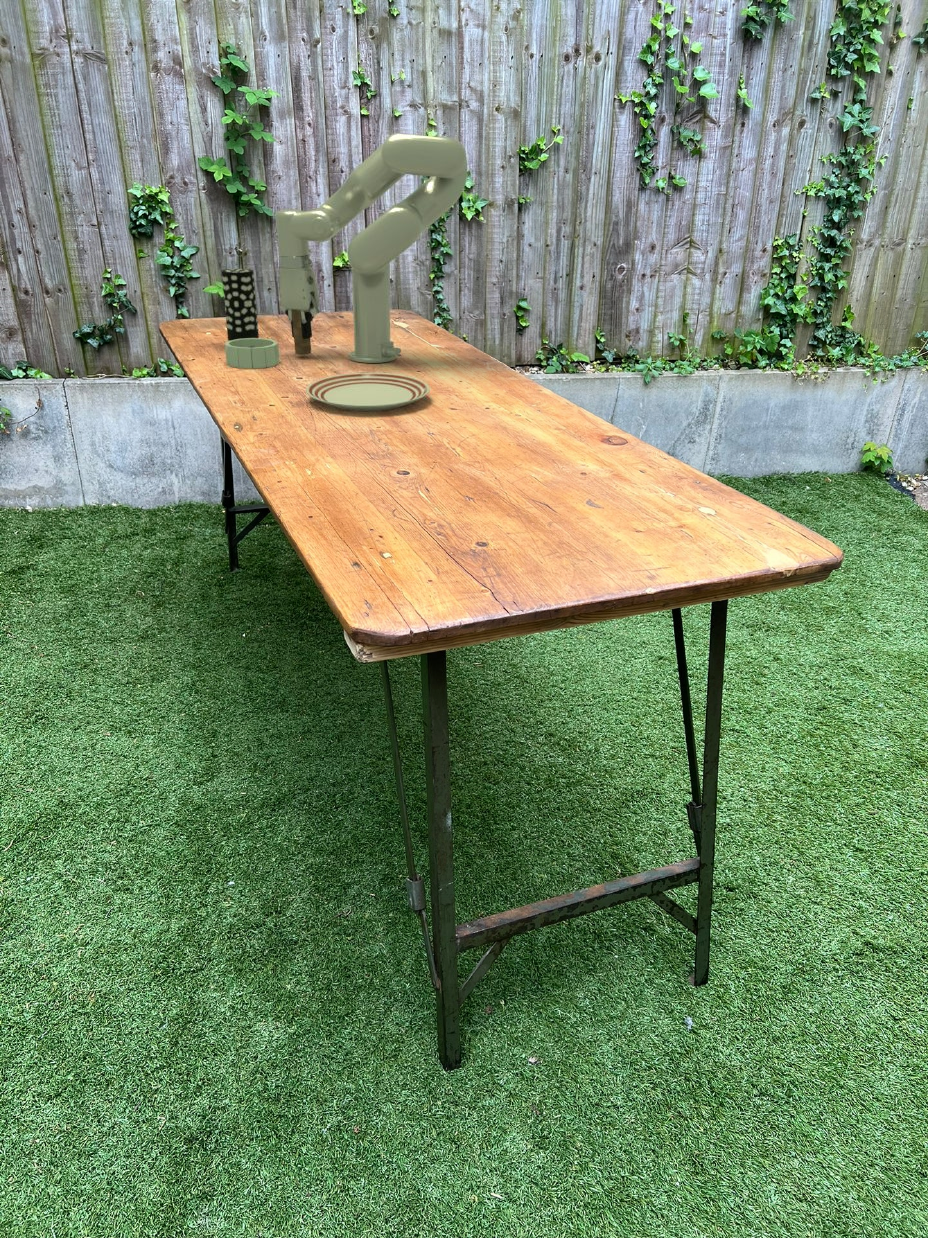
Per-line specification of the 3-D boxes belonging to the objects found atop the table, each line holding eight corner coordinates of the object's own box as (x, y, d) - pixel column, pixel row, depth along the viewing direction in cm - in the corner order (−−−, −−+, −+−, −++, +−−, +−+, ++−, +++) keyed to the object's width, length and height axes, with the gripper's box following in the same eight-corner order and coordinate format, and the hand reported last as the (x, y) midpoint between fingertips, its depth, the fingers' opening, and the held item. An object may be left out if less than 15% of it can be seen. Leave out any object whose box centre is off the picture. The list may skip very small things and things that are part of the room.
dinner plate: (412, 421, 190) (412, 406, 188) (288, 412, 194) (287, 396, 193) (441, 391, 214) (442, 376, 212) (330, 382, 218) (330, 368, 217)
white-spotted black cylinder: (255, 351, 247) (249, 273, 238) (225, 350, 247) (217, 272, 238) (262, 344, 255) (256, 269, 245) (232, 344, 255) (225, 268, 245)
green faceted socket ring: (289, 362, 236) (288, 342, 234) (252, 370, 226) (250, 350, 224) (253, 355, 242) (252, 336, 240) (216, 363, 233) (214, 343, 230)
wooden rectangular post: (311, 353, 242) (307, 297, 235) (303, 354, 239) (299, 299, 233) (303, 352, 243) (298, 296, 237) (295, 353, 241) (290, 298, 235)
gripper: (329, 262, 230) (334, 337, 238) (282, 259, 238) (289, 332, 246) (308, 266, 224) (315, 342, 233) (261, 262, 232) (270, 336, 241)
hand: (302, 336), depth 239 cm, fingers closed on wooden rectangular post, 2 cm apart
